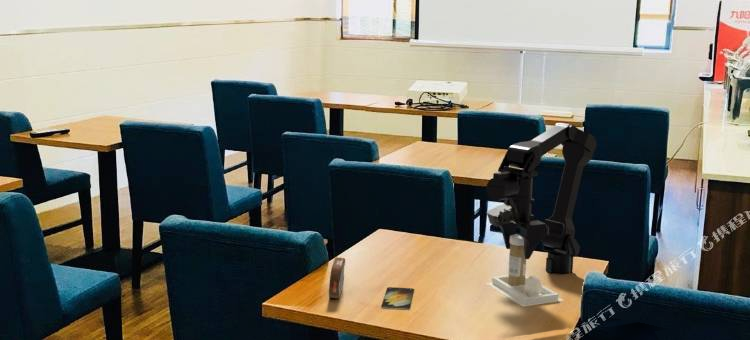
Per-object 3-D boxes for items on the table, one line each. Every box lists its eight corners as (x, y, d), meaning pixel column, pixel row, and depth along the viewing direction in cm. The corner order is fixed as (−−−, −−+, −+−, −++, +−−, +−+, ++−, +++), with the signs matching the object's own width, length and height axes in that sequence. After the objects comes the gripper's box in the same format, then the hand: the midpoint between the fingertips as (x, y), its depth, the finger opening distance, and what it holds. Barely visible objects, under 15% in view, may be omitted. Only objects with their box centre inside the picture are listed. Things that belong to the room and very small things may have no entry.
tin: (334, 283, 224) (334, 252, 222) (346, 283, 224) (346, 252, 222) (327, 303, 209) (327, 270, 207) (340, 303, 209) (340, 271, 207)
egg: (535, 292, 215) (536, 272, 214) (545, 298, 211) (546, 277, 210) (520, 294, 213) (521, 274, 212) (529, 300, 209) (530, 279, 208)
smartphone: (414, 288, 220) (409, 308, 205) (414, 290, 220) (409, 311, 205) (387, 286, 221) (380, 307, 206) (387, 289, 221) (380, 309, 206)
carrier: (525, 281, 226) (526, 272, 226) (564, 304, 210) (564, 294, 210) (485, 286, 222) (486, 277, 222) (522, 310, 206) (522, 300, 205)
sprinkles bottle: (528, 287, 219) (531, 237, 216) (515, 290, 216) (518, 239, 214) (516, 282, 223) (519, 232, 220) (503, 285, 220) (506, 235, 218)
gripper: (474, 189, 220) (472, 246, 223) (511, 205, 203) (508, 268, 206) (511, 185, 224) (509, 242, 227) (551, 202, 207) (548, 263, 210)
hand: (517, 253), depth 218 cm, fingers open, 9 cm apart
